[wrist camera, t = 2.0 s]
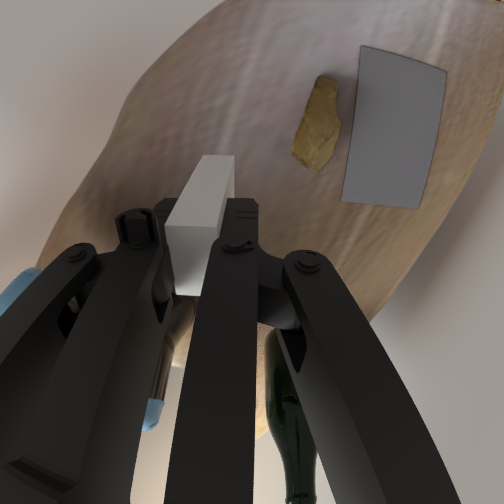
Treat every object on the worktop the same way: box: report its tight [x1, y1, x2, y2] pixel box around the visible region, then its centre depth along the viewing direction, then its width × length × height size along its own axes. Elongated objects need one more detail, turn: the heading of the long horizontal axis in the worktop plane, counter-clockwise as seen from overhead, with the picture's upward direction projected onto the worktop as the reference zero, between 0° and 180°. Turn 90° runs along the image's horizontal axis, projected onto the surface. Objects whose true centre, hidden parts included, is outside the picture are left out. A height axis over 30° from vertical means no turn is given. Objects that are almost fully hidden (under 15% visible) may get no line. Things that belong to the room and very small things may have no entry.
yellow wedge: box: [290, 76, 341, 173], centre depth 28 cm, size 11×9×10 cm
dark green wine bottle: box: [264, 330, 318, 504], centre depth 40 cm, size 10×10×33 cm
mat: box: [340, 46, 447, 209], centre depth 30 cm, size 12×20×1 cm, turn 178°
